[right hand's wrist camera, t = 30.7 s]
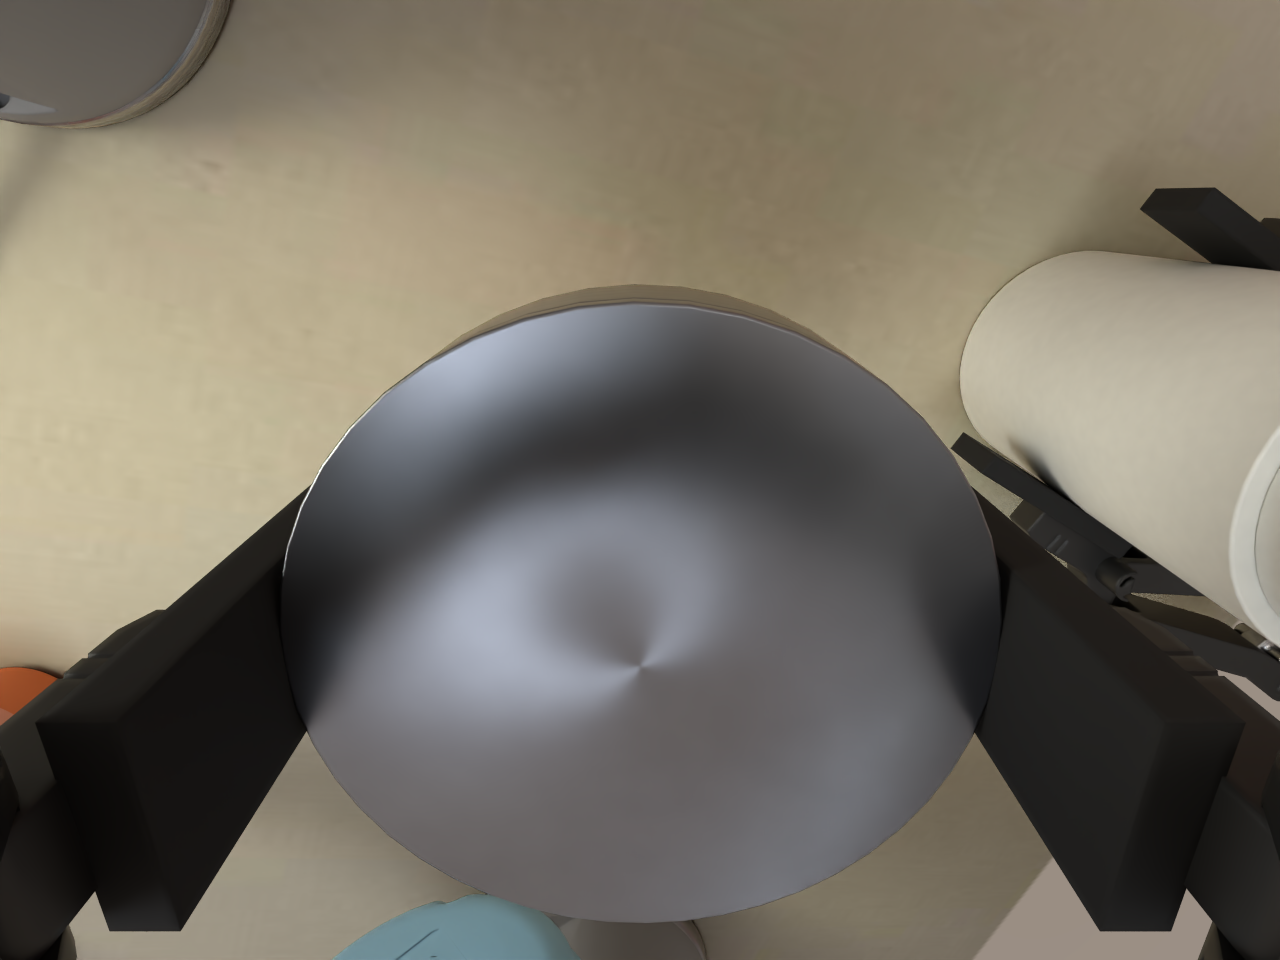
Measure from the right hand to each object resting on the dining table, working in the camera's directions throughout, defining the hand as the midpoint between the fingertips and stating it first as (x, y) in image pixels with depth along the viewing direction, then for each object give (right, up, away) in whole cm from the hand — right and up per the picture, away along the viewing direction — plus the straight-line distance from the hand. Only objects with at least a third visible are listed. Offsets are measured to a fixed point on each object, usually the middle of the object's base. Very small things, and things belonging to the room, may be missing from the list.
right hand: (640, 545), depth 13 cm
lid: (0, -1, -3) cm, 3 cm away
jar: (+18, +6, +18) cm, 27 cm away
